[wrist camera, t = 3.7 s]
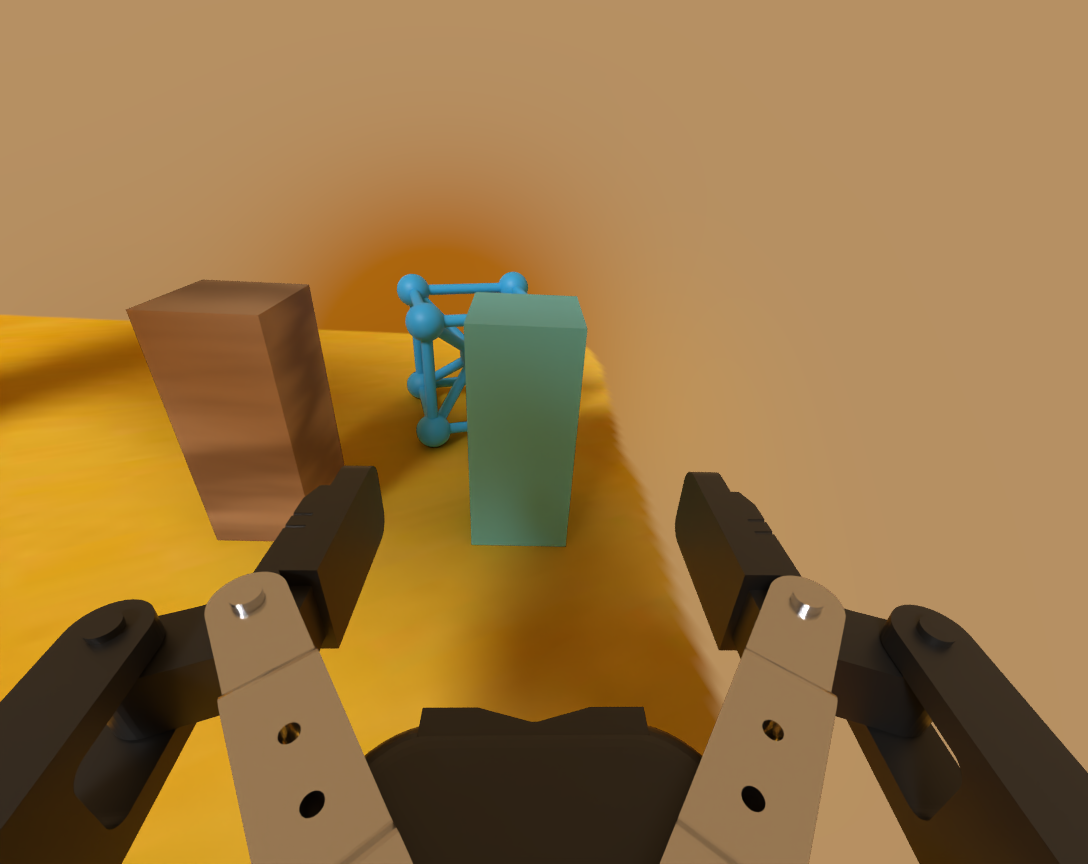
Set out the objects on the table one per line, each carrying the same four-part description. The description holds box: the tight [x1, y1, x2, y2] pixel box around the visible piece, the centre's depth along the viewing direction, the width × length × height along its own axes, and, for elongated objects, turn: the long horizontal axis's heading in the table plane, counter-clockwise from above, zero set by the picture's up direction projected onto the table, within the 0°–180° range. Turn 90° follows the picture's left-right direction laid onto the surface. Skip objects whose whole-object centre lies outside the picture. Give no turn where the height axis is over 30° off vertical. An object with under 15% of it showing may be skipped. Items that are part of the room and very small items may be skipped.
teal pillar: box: [464, 292, 587, 547], centre depth 24 cm, size 5×5×12 cm
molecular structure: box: [397, 272, 528, 447], centre depth 35 cm, size 10×10×10 cm
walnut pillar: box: [126, 280, 344, 541], centre depth 24 cm, size 5×5×12 cm
